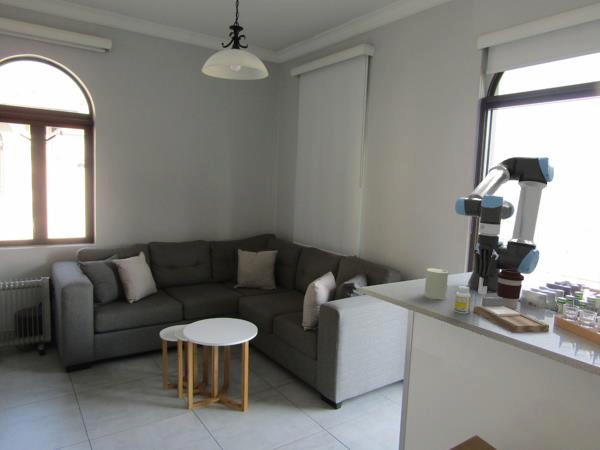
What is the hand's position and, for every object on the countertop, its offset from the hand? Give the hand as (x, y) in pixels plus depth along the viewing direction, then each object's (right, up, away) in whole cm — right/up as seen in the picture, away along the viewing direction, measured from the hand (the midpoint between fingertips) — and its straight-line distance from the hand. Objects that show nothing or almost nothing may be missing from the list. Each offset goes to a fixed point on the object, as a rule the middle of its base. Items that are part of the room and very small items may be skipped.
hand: (482, 293), depth 167 cm
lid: (+2, -5, -9) cm, 11 cm away
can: (-14, -4, +16) cm, 21 cm away
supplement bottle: (-10, -7, -5) cm, 13 cm away
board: (+4, -8, -13) cm, 16 cm away
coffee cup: (+13, -7, +6) cm, 16 cm away
